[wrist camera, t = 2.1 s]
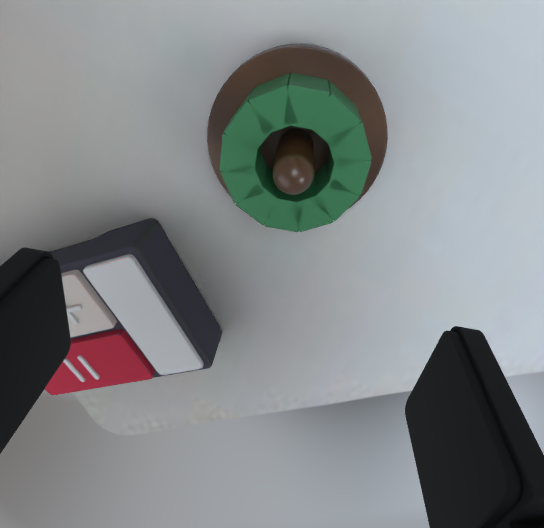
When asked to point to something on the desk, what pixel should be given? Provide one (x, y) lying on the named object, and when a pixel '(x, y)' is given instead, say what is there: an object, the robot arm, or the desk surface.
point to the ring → (305, 114)
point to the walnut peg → (294, 140)
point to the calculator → (130, 311)
